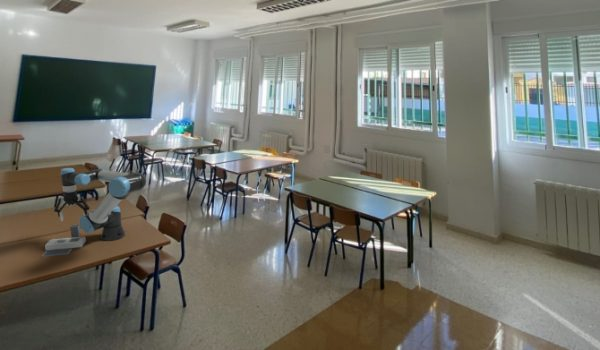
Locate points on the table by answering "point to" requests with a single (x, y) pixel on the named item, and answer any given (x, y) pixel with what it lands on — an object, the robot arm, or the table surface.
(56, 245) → the power strip
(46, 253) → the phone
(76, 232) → the block
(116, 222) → the robot arm
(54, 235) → the table surface
